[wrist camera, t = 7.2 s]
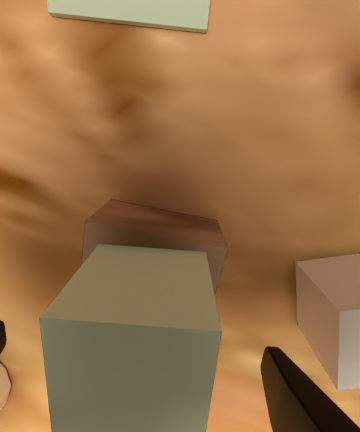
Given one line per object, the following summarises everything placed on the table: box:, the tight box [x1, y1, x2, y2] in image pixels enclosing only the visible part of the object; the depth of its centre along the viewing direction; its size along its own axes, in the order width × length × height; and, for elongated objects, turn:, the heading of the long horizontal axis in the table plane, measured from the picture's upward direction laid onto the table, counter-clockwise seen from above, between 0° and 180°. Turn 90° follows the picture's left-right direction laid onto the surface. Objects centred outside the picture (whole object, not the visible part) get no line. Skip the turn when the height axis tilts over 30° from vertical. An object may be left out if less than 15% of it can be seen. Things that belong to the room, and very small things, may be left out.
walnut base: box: [81, 200, 228, 295], centre depth 13 cm, size 6×6×4 cm
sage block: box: [39, 244, 222, 432], centre depth 9 cm, size 4×4×4 cm
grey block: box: [295, 253, 360, 390], centre depth 13 cm, size 4×4×4 cm
